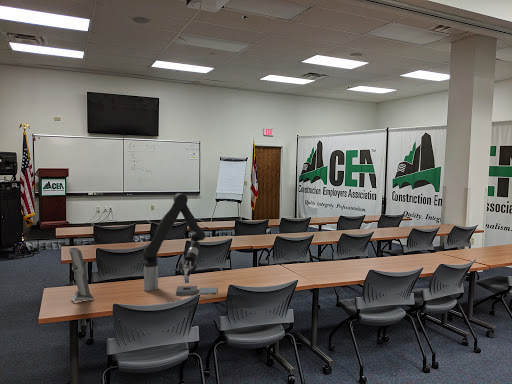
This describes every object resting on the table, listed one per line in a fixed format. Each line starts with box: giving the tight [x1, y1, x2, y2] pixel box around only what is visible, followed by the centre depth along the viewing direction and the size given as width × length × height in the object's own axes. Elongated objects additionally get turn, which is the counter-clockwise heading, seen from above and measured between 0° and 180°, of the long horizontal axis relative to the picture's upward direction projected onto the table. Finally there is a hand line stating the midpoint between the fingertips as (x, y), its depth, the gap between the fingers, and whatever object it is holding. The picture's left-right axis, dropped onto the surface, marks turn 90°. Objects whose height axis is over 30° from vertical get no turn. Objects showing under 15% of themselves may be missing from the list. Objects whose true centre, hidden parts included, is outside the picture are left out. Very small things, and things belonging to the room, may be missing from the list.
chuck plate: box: [175, 285, 198, 296], centre depth 267 cm, size 14×12×2 cm
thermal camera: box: [68, 247, 95, 301], centre depth 251 cm, size 12×13×35 cm
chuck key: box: [183, 264, 190, 284], centre depth 266 cm, size 4×4×12 cm
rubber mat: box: [199, 286, 218, 295], centre depth 269 cm, size 12×12×1 cm
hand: (185, 275), depth 264 cm, fingers closed on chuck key, 3 cm apart
